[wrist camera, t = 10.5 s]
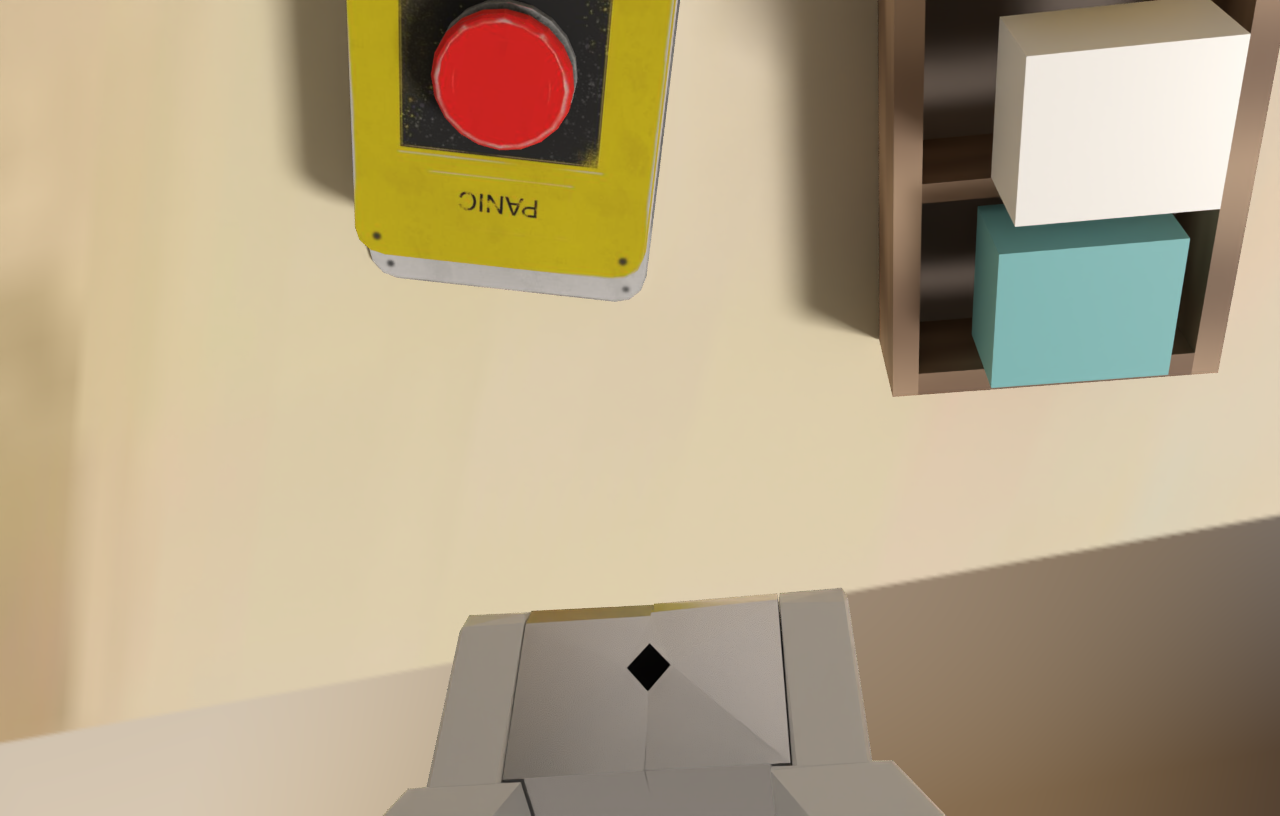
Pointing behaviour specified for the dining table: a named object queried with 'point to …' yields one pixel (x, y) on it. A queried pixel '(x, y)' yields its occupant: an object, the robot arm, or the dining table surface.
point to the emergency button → (510, 139)
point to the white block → (1115, 110)
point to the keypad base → (961, 181)
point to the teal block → (1076, 297)
